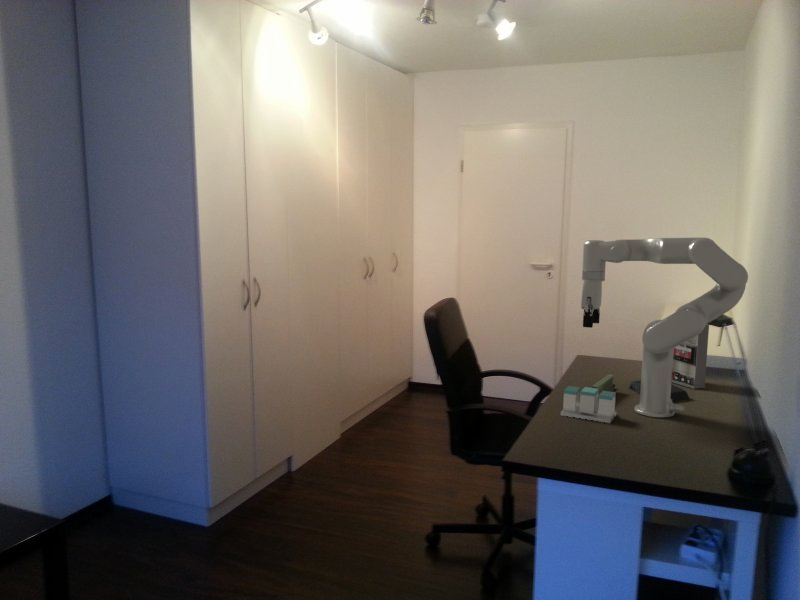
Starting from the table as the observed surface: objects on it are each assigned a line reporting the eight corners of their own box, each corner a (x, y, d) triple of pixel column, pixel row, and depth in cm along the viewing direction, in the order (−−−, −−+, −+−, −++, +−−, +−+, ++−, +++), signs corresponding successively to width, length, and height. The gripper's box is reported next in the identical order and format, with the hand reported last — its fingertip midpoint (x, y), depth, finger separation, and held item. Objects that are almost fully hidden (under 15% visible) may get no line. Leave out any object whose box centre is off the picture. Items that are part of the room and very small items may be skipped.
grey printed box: (665, 381, 259) (669, 320, 255) (677, 379, 261) (681, 319, 258) (693, 389, 246) (697, 325, 243) (705, 388, 249) (709, 324, 245)
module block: (597, 409, 215) (598, 388, 214) (593, 414, 210) (594, 393, 209) (584, 407, 217) (585, 386, 216) (579, 411, 212) (580, 391, 211)
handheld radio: (588, 403, 228) (608, 387, 248) (597, 405, 226) (617, 389, 246) (590, 385, 227) (610, 371, 247) (599, 387, 225) (619, 372, 245)
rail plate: (616, 415, 214) (617, 391, 213) (609, 423, 205) (611, 398, 204) (568, 407, 222) (569, 384, 221) (560, 415, 213) (561, 391, 212)
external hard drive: (652, 387, 251) (653, 377, 250) (691, 400, 233) (692, 390, 232) (625, 390, 246) (626, 380, 246) (663, 404, 228) (664, 393, 228)
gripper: (588, 273, 230) (586, 320, 232) (576, 277, 215) (573, 327, 217) (610, 274, 226) (607, 322, 228) (598, 278, 211) (596, 330, 213)
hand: (591, 325), depth 223 cm, fingers open, 9 cm apart
